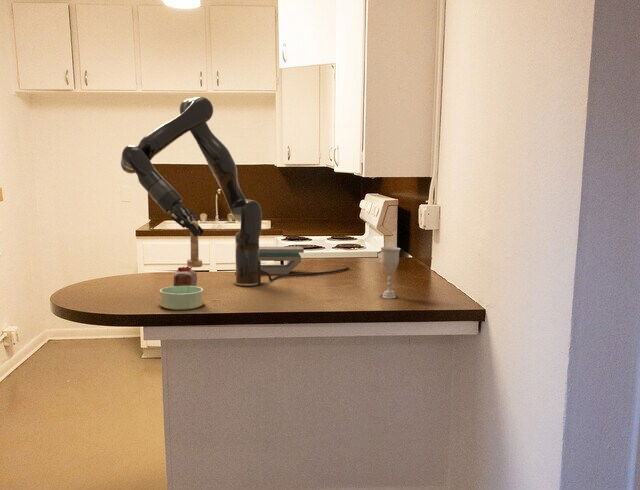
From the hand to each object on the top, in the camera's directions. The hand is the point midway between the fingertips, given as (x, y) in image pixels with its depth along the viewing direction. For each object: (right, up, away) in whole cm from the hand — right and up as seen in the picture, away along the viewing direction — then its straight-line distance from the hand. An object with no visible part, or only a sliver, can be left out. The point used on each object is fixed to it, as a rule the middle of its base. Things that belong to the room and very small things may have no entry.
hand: (200, 234), depth 220 cm
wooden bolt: (-2, -11, +3) cm, 11 cm away
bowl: (-7, -24, +2) cm, 25 cm away
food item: (-10, -20, +23) cm, 32 cm away
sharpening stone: (+19, -11, +67) cm, 71 cm away
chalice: (+65, -21, +22) cm, 72 cm away
